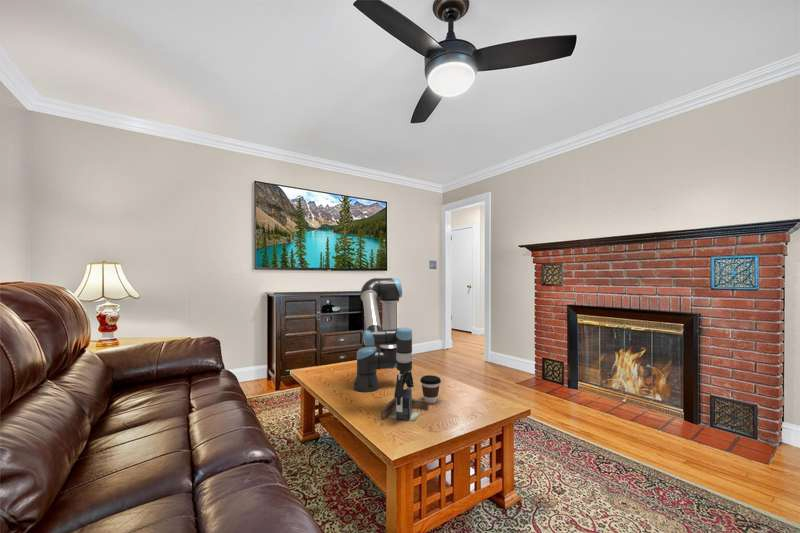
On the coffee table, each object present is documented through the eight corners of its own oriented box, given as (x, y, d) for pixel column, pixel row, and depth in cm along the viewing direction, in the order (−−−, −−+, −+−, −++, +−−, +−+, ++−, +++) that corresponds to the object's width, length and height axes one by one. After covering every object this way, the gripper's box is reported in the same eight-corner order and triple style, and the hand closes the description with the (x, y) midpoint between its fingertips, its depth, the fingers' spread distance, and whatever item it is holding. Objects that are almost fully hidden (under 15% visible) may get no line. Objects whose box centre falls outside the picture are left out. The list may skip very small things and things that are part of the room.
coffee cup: (416, 399, 177) (416, 376, 177) (434, 396, 181) (434, 374, 181) (426, 406, 167) (426, 382, 167) (445, 403, 171) (444, 379, 171)
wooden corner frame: (381, 419, 152) (381, 410, 152) (395, 404, 170) (395, 396, 170) (417, 425, 146) (417, 415, 146) (428, 409, 164) (428, 400, 164)
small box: (398, 410, 162) (398, 388, 162) (412, 410, 161) (412, 389, 161) (395, 419, 151) (395, 396, 152) (409, 420, 150) (409, 397, 151)
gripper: (402, 368, 144) (402, 417, 144) (419, 355, 167) (419, 397, 167) (386, 367, 147) (386, 415, 146) (405, 354, 170) (405, 395, 170)
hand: (404, 406), depth 157 cm, fingers open, 13 cm apart
